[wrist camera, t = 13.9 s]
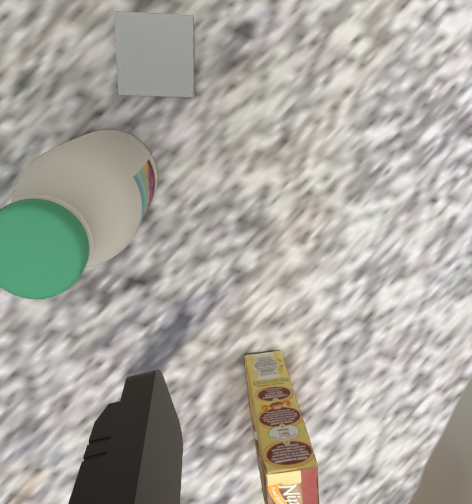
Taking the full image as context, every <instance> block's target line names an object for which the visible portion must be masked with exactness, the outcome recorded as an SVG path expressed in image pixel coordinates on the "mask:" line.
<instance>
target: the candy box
mask: <svg viewBox="0 0 472 504" xmlns="http://www.w3.org/2000/svg"><path fill="white" fill-rule="evenodd" d="M244 358H245V370H246V379H247V388H248V397H249V405H250V413H251V421H252V427H253V434H254V441H255V447H256V453H257V459H258V467H259V472H260V478H261V484H262V491H263V496H264V501H265V504H319V486H318V464H317V461H316V458H315V455H314V452H313V449H312V446H311V442H310V439H309V436H308V433H307V430H306V427H305V424H304V421H303V418H302V415H301V412H300V409H299V406H298V403H297V400H296V396H295V393H294V390H293V387H292V384H291V381H290V378H289V375H288V372H287V369H286V366H285V362H284V359H283V356H282V352H281V351H273V352H265V353H258V354H250V355H245V357H244Z"/></svg>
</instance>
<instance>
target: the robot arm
mask: <svg viewBox="0 0 472 504" xmlns="http://www.w3.org/2000/svg"><path fill="white" fill-rule="evenodd" d="M182 454H183V440H182V432H181V427H180V423H179V419H178V416H177V414H176V411H175V408H174V405H173V402H172V400H171V397H170V394H169V391H168V388H167V386H166V383H165V380H164V377H163V375H162V373H161V371H160V370H154V371H150V372H146V373H142V374H138V375H134V376H130V377H127V379H126V382H125V385H124V389H123V393H122V397H121V401H119V402H115V403H111V404H108V406H107V407H106V408H105V410H104V411H103V412H102V413H101V415H100V416H99V417H98V419H97V420H96V421H95V423H94V426H93V429H92V432H91V435H90V438H89V445H87V448H86V451H85V454H84V457H83V458H84V461H83V462H82V463H81V466H80V470H79V473H78V476H77V479H76V482H75V485H74V488H73V491H72V494H71V497H70V501H69V504H180V491H181V473H182Z"/></svg>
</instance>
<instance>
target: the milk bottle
mask: <svg viewBox="0 0 472 504" xmlns="http://www.w3.org/2000/svg"><path fill="white" fill-rule="evenodd" d="M157 180H158V175H157V168H156V164H155V161H154V159H153V157H152V155H151V153H150V152H149V150H148V149H147V148H146V147H145V145H144V144H143V143H142V142H140V141H139V140H138V139H137V138H135V137H133V136H132V135H130V134H128V133H125V132H122V131H118V130H111V129H106V130H99V131H94V132H91V133H88V134H86V135H83V136H80V137H78V138H75V139H73V140H70V141H68V142H66V143H63V144H61V145H59V146H57V147H55V148H52V149H51V150H49V151H47V152H45V153H44V154H42V155H40V156H39V157H38V158H36V159H35V160H34V161H33V162H32V163H31V164H30V165H29V166H28V167H27V168H26V169H25V170H24V172H23V173H22V175H21V176H20V178H19V180H18V182H17V184H16V186H15V189H14V192H13V196H12V203H11V204H9V205H7V206H5V207H3V208H1V209H0V287H1V288H3V289H4V290H6V291H8V292H9V293H12V294H14V295H17V296H20V297H23V298H28V299H45V298H50V297H53V296H56V295H58V294H60V293H62V292H64V291H66V290H67V289H69V288H70V287H71V286H72V285H73V284H74V283H75V282H76V281H77V280H78V278H79V277H80V276H81V274H82V272H83V271H84V269H85V268H87V267H91V266H95V265H98V264H101V263H103V262H105V261H107V260H109V259H111V258H112V257H114V256H115V255H117V254H118V253H119V252H120V251H122V250H123V249H124V248H125V247H126V246H127V245H128V243H129V242H130V241H131V239H132V238H133V236H134V235H135V233H136V232H137V230H138V228H139V226H140V224H141V222H142V220H143V218H144V216H145V214H146V212H147V210H148V208H149V205H150V203H151V201H152V199H153V196H154V194H155V191H156V187H157Z"/></svg>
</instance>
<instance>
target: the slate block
mask: <svg viewBox="0 0 472 504" xmlns="http://www.w3.org/2000/svg"><path fill="white" fill-rule="evenodd" d="M114 24H115V42H116V60H117V78H118V95H136V96H164V97H194V96H195V28H194V20H193V15H180V14H160V13H140V12H120V11H114Z"/></svg>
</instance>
